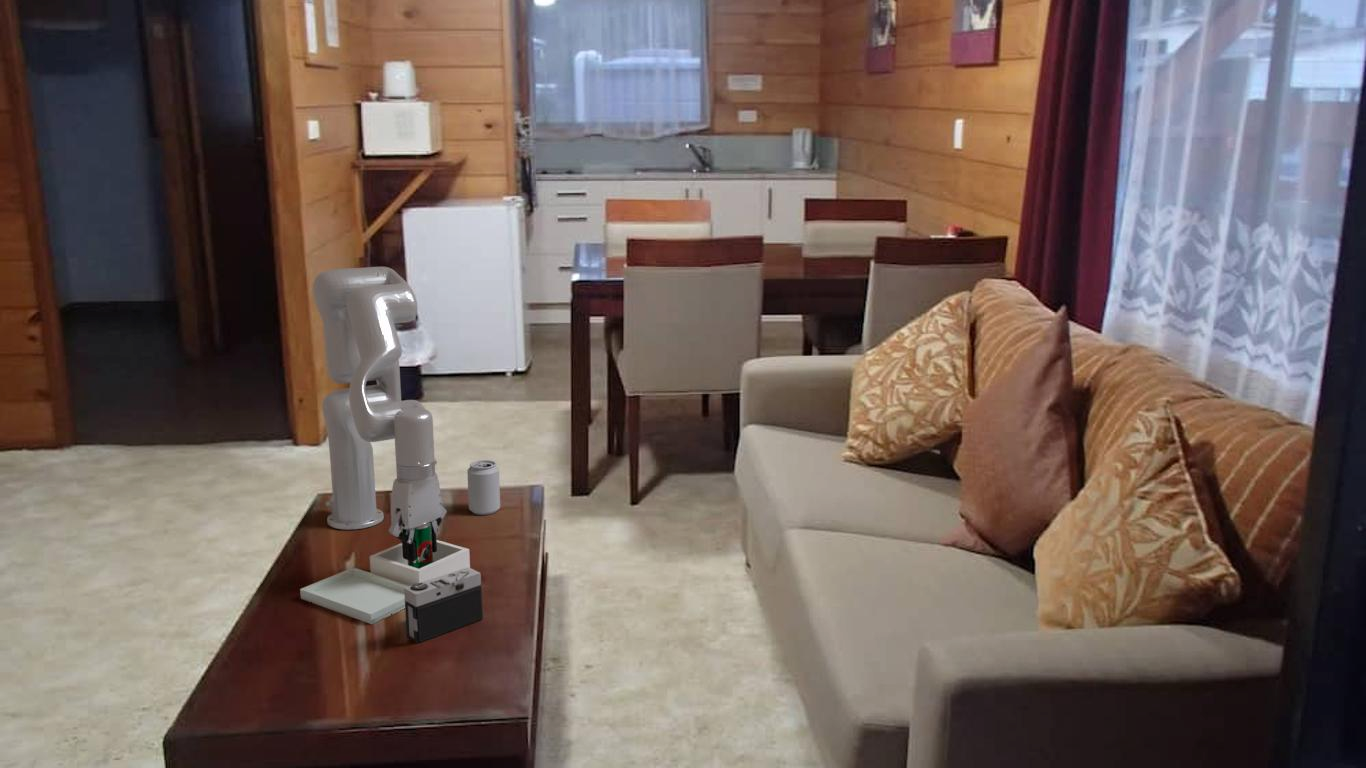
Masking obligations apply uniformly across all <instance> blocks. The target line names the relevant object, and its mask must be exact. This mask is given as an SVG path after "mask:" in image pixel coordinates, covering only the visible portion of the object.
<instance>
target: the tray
mask: <svg viewBox="0 0 1366 768" xmlns="http://www.w3.org/2000/svg"><path fill="white" fill-rule="evenodd" d="M408 586H409V585H406V584H403V583H400V582H397V581H394V580H391V579H388V578H385V577H381V576H378V575H375V574H372V573H371V572H368V571H365V570H364V569H363V570H362V569H360V568H357V567H351V568H349V569H346V570H344V571H340V572H339V573H336V574H334V575H332V576H329V577H326V578H324V579H321V580H318V581H317V582H314V583H312V584H309V585H307V586H304V587H302V588H300V589H299V591H300V599H301V600H303V601H306V602H309V603H311V602H312V604H315V605H317V606H320V607H323V608H325V609H328V610H331V611H334V612H336V613H338V614H339V613H340V614H341V615H344V616H348V617H350V618H354V619H356V620H358V621H362V622H364V623H367V624H370V625H373V624H375V623H377V622H380V621H381V619H382V620H384V619H385V618H388V617H390V616H392V615H394V614H396V613H398V612H401V611H402V609H403V610H404V608H405V595H404V588H405V587H408ZM400 610H401V611H400ZM391 614H392V615H391ZM383 618H384V619H383Z"/></svg>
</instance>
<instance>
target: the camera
mask: <svg viewBox="0 0 1366 768" xmlns="http://www.w3.org/2000/svg"><path fill="white" fill-rule="evenodd" d="M481 574H482V573H481V572H479V571H477V570H475V569H474V568H471V567H470V568H464V569H461V570H458V571H455V572H452V573H448V574H445V575H442V576H439V577H436V578H433V579H430V580H427V581H424V582H421V583H416V584H413V585H411V586H408V587H405V588H404V595H405V625H406V627H405V628H406V637H407V638H408V639H410V640H411V641H413V642H414V643H416V644H420V643H423V642H425V641H427V640H431V639H433V638H436V637H439V636H442V635H444V634H447V633H450V632H452V631H456V630H459V629H461V628H463V627H467V626H469V625H471V624H475V623H478V622H480V621H483V619H484V618H483V617H484V616H483V615H484V614H483V613H484V612H483V598H482V597H483V593H482V591H483V590H482V589H483V588H482V579H481V577H482V575H481Z"/></svg>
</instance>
